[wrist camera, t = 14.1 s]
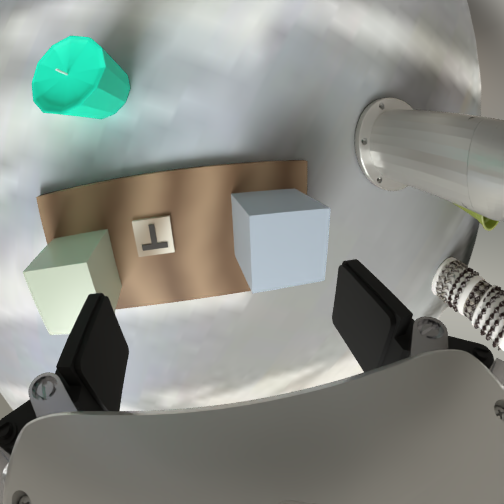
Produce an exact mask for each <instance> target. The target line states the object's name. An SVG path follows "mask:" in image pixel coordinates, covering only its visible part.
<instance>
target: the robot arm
mask: <svg viewBox="0 0 504 504" xmlns="http://www.w3.org/2000/svg"><path fill="white" fill-rule="evenodd" d="M355 150H356V155H357V159H358V163H359V165H360V167H361V170H362V171H363V173H364V175H365V176H366V178H367V179H368V180H369V181H370V182H371V183H373V184H374V185H376V186H377V187H379V188H382V189H384V190H388V191H398V190H402V189H404V188H406V187H407V186H411V187H414V188H417V189H419V190H422V191H425V192H427V193H430V194H432V195H435V196H438V197H440V198H443V199H445V200H448V201H450V202H452V203H455V204H457V205H459V206H462V207H464V208H466V209H469V210H471V211H473V212H475V213H478V214H480V215H482V216H484V217H487V218H489V219H492V220H495V221H504V120H499V119H494V118H487V117H481V116H474V115H467V114H459V113H449V112H439V111H425V110H414V109H413V108H412V107H411V106H410V105H409V104H407V103H406V102H404V101H403V100H400V99H397V98H381V99H378V100H375V101H374V102H372V103H371V104H369V105H368V106H367V108H366V109H365V110H364V111H363V113H362V115H361V116H360V119H359V121H358V124H357V128H356V133H355ZM412 316H413V314H412V313H411V312H410V311H409V310H408V309H407V307H406V306H405V305H404V304H403V303H402V302H401V301H400V300H399V299H398V298H397V297H396V296H395V295H394V294H393V293H392V292H391V291H390V290H389V289H388V288H387V287H385V286H384V285H383V284H382V283H381V282H380V281H379V280H378V279H377V278H376V277H375V276H374V275H373V274H372V273H371V272H370V271H369V270H368V269H367V268H366V267H365V266H364V265H363V264H361V263H360V262H359V261H358V260H357V259H355V260H348V261H344V262H343V263H342V265H340V266H339V269H338V278H337V286H336V294H335V301H334V308H333V315H332V320H333V324H334V325H335V327H336V329H337V330H338V332H339V333H340V335H341V336H342V338H343V339H344V341H345V343H346V344H347V346H348V347H349V349H350V350H351V352H352V354H353V355H354V357H355V358H356V360H357V361H358V363H359V365H360V366H361V368H362V369H363V371H364V373H361V374H358V375H355V376H351V377H348V378H345V379H341V380H338V381H334V382H331V383H327V384H324V385H320V386H316V387H312V388H308V389H304V390H300V391H295V392H291V393H286V394H282V395H277V396H272V397H267V398H261V399H256V400H250V401H244V402H238V403H231V404H224V405H216V406H207V407H198V408H187V409H174V410H157V411H119V410H120V402H121V396H122V389H123V383H124V377H125V371H126V366H127V360H128V355H129V349H128V345H127V343H126V341H125V338H124V336H123V333H122V331H121V329H120V326H119V324H118V321H117V318H116V316H115V313H114V311H113V308H112V305H111V302H110V300H109V298H108V296H105V295H104V294H103V293H95V294H89V295H88V297H87V299H86V301H85V303H84V305H83V307H82V309H81V311H80V313H79V315H78V317H77V319H76V322H75V324H74V326H73V328H72V330H71V333H70V335H69V337H68V339H67V342H66V344H65V346H64V349H63V351H62V354H61V356H60V358H59V361H58V363H57V366H56V367H57V370H56V372H55V374H54V373H50V372H47V373H43V374H41V375H39V376H37V377H36V378H35V379H34V380H33V381H32V382H31V384H30V387H29V391H28V392H29V397H30V400H28V401H27V402H26V403H24V404H23V405H21V406H20V407H18V408H17V409H15V410H14V411H12V412H11V413H9V414H8V415H7V416H5V417H4V418H2V419H1V420H0V504H504V361H502V360H500V359H498V358H496V360H494V358H493V354H492V353H491V351H490V350H489V349H488V348H487V347H486V346H484V345H482V344H479V343H475V342H471V341H467V340H463V339H459V338H455V337H451V336H448V332H447V328H446V327H445V325H444V324H443V323H442V322H441V321H439V320H437V319H436V318H432V317H426V316H425V317H420V318H418V319H416V320H415V321H414V320H413V319H412Z"/></svg>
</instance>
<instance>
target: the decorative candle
mask: <svg viewBox="0 0 504 504" xmlns="http://www.w3.org/2000/svg"><path fill="white" fill-rule="evenodd" d="M432 291H433V293H434V294H435V295H437V296H439V299H441V298H442V300H444V303H446V302H447V303H448V305H449V306H450V307H453V309H454V310H455V312H457V311H458V312H459V313H461V314H462V315H463V316H466V317H467V318H468V319H469V320H471V321H472V322H471V323H472V326H474V327H475V328H476V329H477V328H481V335H484V334H486V333H487V335H486V339H487V340H490V339H491V338H492V339H493V340H494V341H493V347H496V346H497V345H499V347H498V350H499V349H502V350H503V351H504V291H503V290H501V287H498V286H496V285H493V286H492V285H490V284H489V283H487V282H486V281H485V279H483V278H482V277H480V276H479V273H478V272H476V271H474V272H473V269H471V268H468V267H467V265H466V264H464V263H462V262H461V261H459V260H456V259H455V258H453V257H450V258H447V259H446V260H445V261H444V262H443V263H442V264H441V265H440V267H439V268H438V269H437V271H436V273H435V275H434V278H433V281H432Z"/></svg>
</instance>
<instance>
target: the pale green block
mask: <svg viewBox="0 0 504 504" xmlns="http://www.w3.org/2000/svg"><path fill="white" fill-rule="evenodd" d="M23 274H24V277H25V279H26V282H27V285H28V287H29V290H30V292H31V295H32V297H33V299H34V302H35V304H36V306H37V309H38V311H39V313H40V315H41V317H42V319H43V322H44V324H45V326H46V328H47V330H48V332H49V334H50V335H59V334H70V333H71V330H72V328H73V326H74V324H75V322H76V319H77V317H78V315H79V313H80V311H81V309H82V307H83V305H84V303H85V301H86V299H87V297H88V295H89V294H95V293H103V294H104V295H105V296H108V298H109V300H110V302H111V305H112V308H113V311H114V313H115V309H116V306H117V302H118V298H119V295H120V291H121V288H122V285H121V281H120V278H119V274H118V270H117V266H116V263H115V259H114V254H113V250H112V246H111V242H110V237H109V233H108V229H105V230H99V231H93V232H87V233H81V234H76V235H70V236H65V237H60V238H54V239H53V240H52V241H51V242H50V243H49V244H48V245H47V246H46V247H45V248H44V249H43V250H42V251H41V252H40V254H39V255H38V256H37V257H36V258H35V259H34V260H33V261H32V262H31V263H30V265H29V266H28V267H27V268H26V269H25V270H24V271H23Z"/></svg>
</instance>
